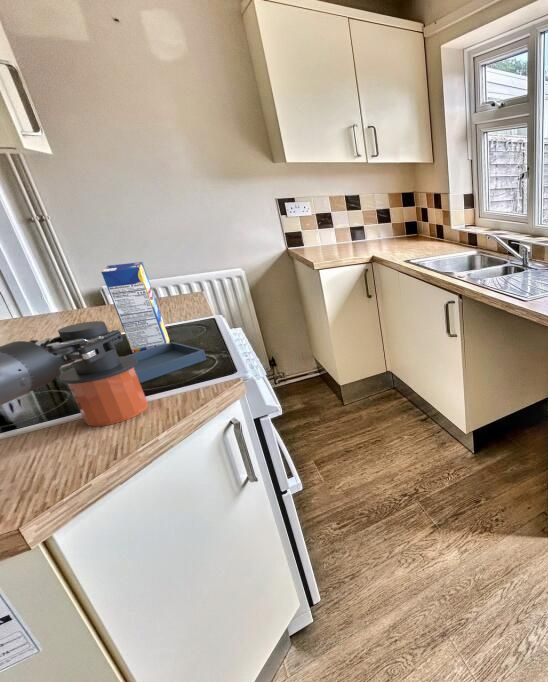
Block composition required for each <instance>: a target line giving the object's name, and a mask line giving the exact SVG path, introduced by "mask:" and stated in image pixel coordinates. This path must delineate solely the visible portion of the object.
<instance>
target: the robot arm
mask: <svg viewBox="0 0 548 682" xmlns="http://www.w3.org/2000/svg"><path fill="white" fill-rule="evenodd" d="M123 337H124V336H123V334H122V332H121V330H119V329H113V330H111V331H108V333H106V334H103V335H101V336H97V337H95V338H91V339H87V340H85V339H83V338H79V339H75V340H70V341H66V342H62V340H61V337H60V335H58V336H56V337H53V338H52V337H47V338H44V339H43V340H38V339H32V340H30V341H24V340H18V341H17V340H16V341H12V342H9V343H6V344H3V345H0V406H2V405H5V404H8V403H9V402H12V401H14V400H16V399H18V398H20V397H22V396H24V395H27V394H29V393H30V392H33V391H35V390H37V389H39V388H42V387H44V386H46V385H48V384H50V383H51V382H53V381H54V380H55V379H56V377H57V375H58V372H59V369H61V368H65V367H69V366H72V365H73V364H72V363H74V362H78V361H81V360H82V361H83V363H84V364H89V363H91V362H93V361H96V360H98V359H100V358H102V357H104V356H106V355H108V354H110V353H112V352H114V351H116V352H117V349H116V345H117V344H119V343H122V342H123V341H124V338H123ZM90 343H91V344H90ZM74 344H80V347H81V348H79V349H78V351H77V349H76V346H75V345H74Z"/></svg>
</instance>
